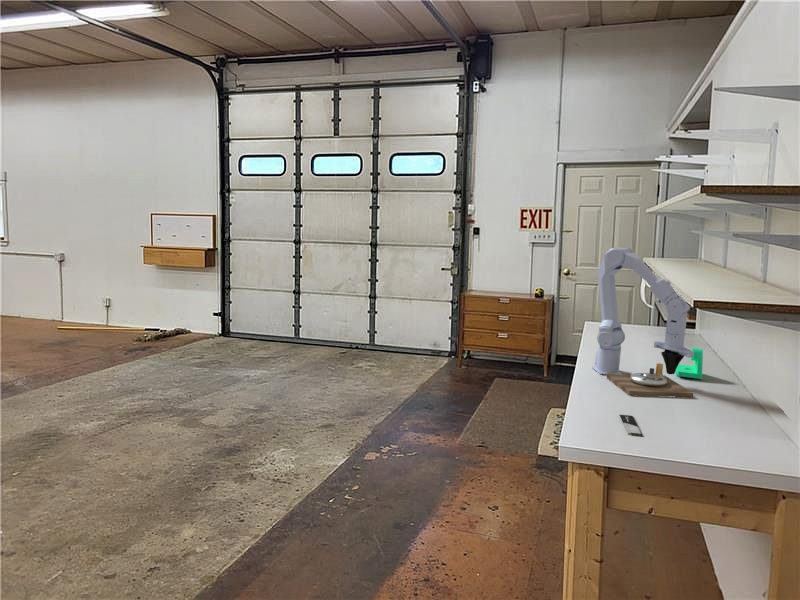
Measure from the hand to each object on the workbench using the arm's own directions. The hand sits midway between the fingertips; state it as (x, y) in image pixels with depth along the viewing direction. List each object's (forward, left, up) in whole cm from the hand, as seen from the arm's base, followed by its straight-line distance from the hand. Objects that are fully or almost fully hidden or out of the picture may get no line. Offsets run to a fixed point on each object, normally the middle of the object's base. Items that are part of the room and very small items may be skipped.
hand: (670, 373), depth 196 cm
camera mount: (-14, +13, -5) cm, 20 cm away
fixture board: (+3, -8, -4) cm, 10 cm away
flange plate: (+1, -7, -3) cm, 7 cm away
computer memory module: (+40, -28, -5) cm, 49 cm away
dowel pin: (-3, -5, -3) cm, 6 cm away
